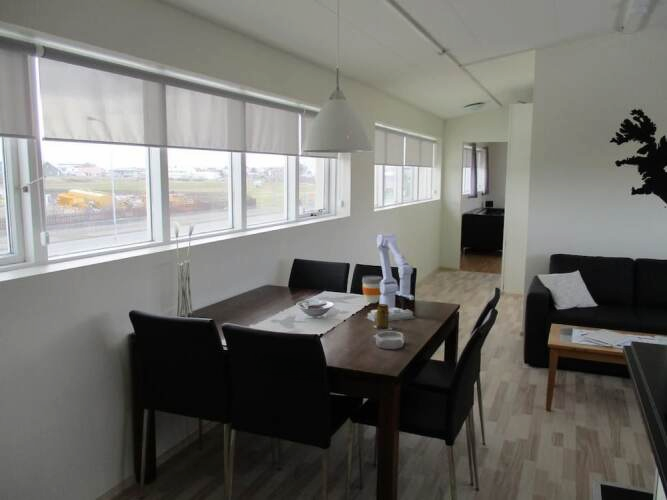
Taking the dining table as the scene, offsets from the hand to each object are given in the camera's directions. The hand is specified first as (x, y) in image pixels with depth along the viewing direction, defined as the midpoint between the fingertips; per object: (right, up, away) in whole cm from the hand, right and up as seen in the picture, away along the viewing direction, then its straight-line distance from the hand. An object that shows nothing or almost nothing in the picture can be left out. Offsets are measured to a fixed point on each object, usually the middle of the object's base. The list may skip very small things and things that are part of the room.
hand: (404, 309), depth 304 cm
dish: (-13, -11, -50) cm, 53 cm away
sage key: (-16, -3, -8) cm, 18 cm away
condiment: (-14, -7, -23) cm, 28 cm away
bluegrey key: (-5, -2, -2) cm, 6 cm away
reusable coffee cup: (-16, +1, +34) cm, 37 cm away
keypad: (-8, -4, -3) cm, 10 cm away
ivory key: (0, -3, 0) cm, 3 cm away
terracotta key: (-11, -4, -5) cm, 12 cm away
